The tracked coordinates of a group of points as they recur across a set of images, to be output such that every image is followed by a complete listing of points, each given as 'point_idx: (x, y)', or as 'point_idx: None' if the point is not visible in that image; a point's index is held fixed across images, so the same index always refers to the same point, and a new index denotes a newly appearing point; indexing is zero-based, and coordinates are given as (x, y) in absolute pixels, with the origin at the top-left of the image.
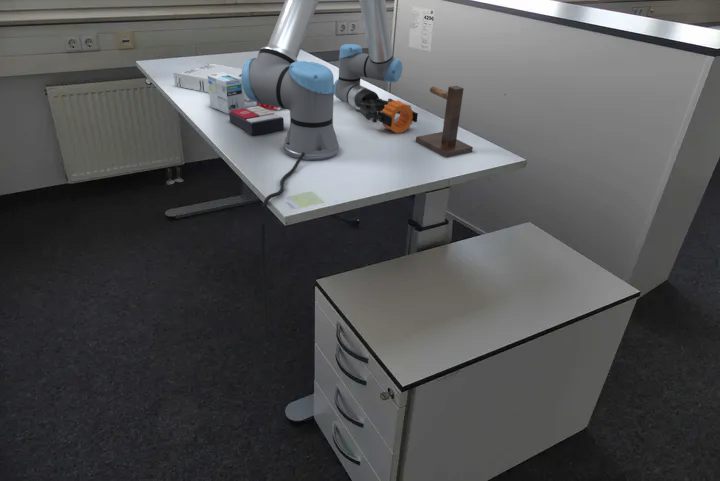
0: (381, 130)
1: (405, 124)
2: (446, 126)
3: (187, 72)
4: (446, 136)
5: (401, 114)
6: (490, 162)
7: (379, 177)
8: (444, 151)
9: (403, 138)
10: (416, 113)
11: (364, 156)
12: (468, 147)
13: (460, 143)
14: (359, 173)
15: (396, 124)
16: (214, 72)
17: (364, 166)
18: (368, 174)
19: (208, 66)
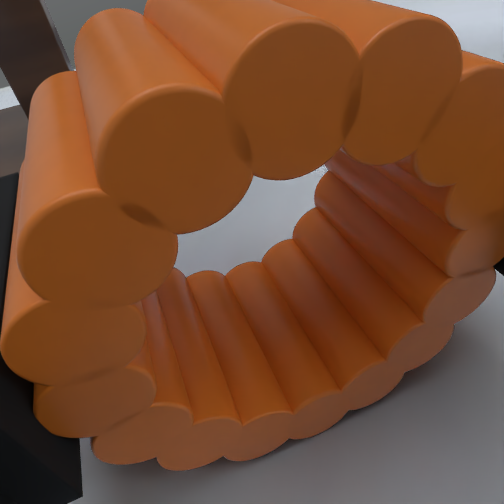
0: (450, 361)
1: (177, 273)
2: (45, 6)
3: None
4: (69, 63)
5: (146, 340)
6: (14, 95)
7: (408, 8)
8: None
9: (255, 215)
10: (1, 179)
11: (492, 58)
12: (7, 108)
13: (2, 128)
14: (478, 7)
15: (261, 358)
16: None
17: (471, 25)
18: (446, 9)
19: None
